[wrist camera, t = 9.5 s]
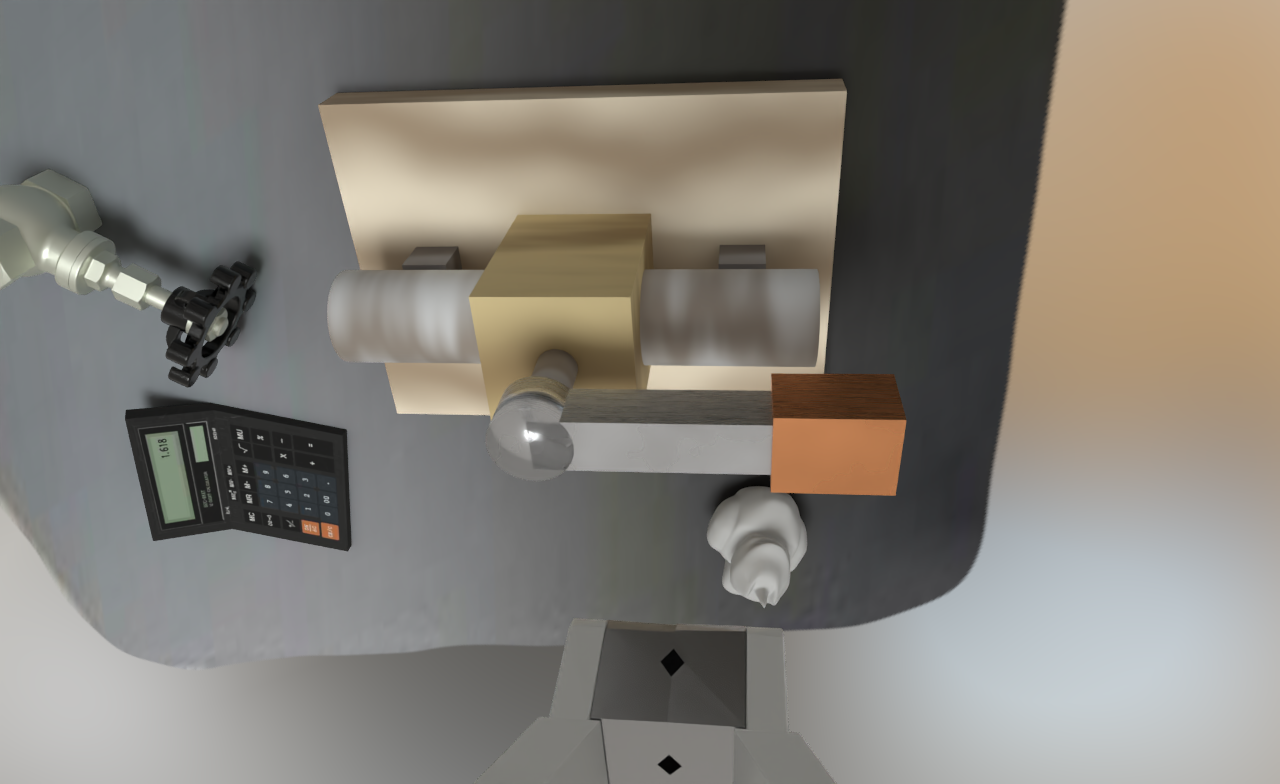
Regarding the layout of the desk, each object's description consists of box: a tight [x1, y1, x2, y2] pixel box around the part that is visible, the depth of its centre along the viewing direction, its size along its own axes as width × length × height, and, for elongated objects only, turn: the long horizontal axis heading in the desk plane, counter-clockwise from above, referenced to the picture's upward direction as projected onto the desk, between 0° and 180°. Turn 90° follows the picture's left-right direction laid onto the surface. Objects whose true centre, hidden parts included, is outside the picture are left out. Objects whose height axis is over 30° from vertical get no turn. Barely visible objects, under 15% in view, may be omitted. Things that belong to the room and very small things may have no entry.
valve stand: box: [318, 79, 847, 420], centre depth 35 cm, size 16×22×13 cm
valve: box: [0, 169, 257, 387], centre depth 40 cm, size 7×7×12 cm
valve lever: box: [485, 373, 906, 495], centre depth 28 cm, size 14×3×3 cm, turn 93°
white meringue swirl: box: [707, 486, 807, 608], centre depth 45 cm, size 5×7×8 cm
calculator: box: [125, 403, 351, 551], centre depth 50 cm, size 9×12×3 cm
